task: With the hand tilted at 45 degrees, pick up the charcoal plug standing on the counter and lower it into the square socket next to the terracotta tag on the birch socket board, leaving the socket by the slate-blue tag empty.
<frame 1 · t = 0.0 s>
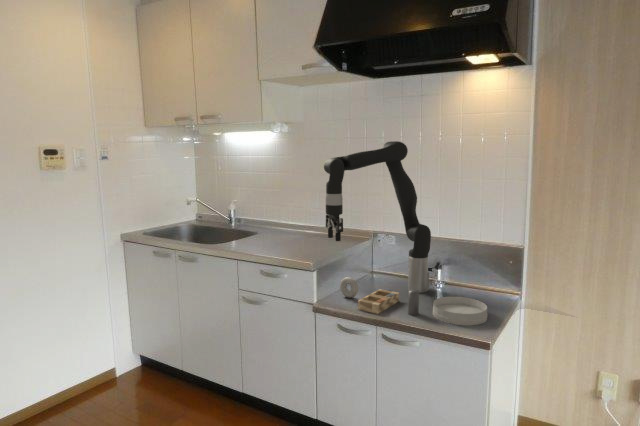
hand: (334, 239, 210), 29 cm above the worktop, tool pointing down, fingers open, 8 cm apart
plug: (413, 313, 199), on the worktop
dish: (459, 316, 197), on the worktop
donut: (349, 298, 221), on the worktop
socket board: (378, 305, 210), on the worktop
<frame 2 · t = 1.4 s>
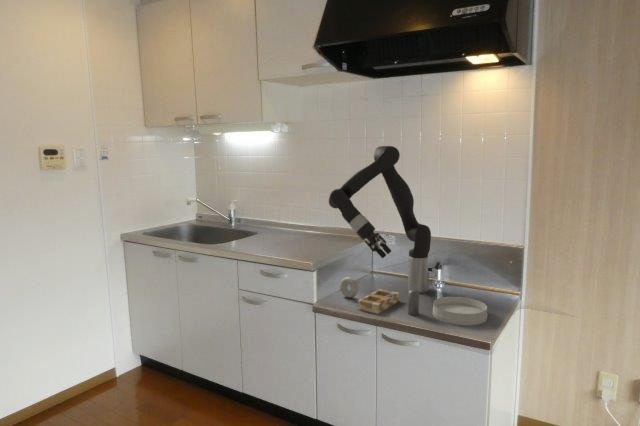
hand: (387, 254, 200), 25 cm above the worktop, tool tilted 45°, fingers open, 8 cm apart
nothing on the worktop moved.
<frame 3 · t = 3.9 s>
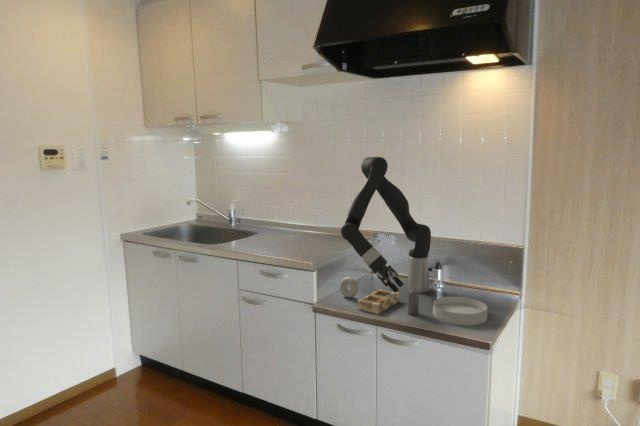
hand: (399, 288, 200), 10 cm above the worktop, tool tilted 45°, fingers open, 8 cm apart
nothing on the worktop moved.
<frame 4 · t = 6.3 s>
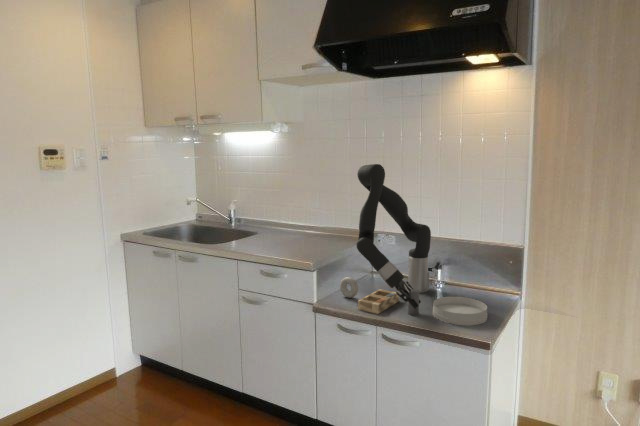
hand: (418, 304, 198), 4 cm above the worktop, tool tilted 45°, fingers closed on plug, 4 cm apart
plug: (413, 313, 199), on the worktop, touching gripper
everything else where it was.
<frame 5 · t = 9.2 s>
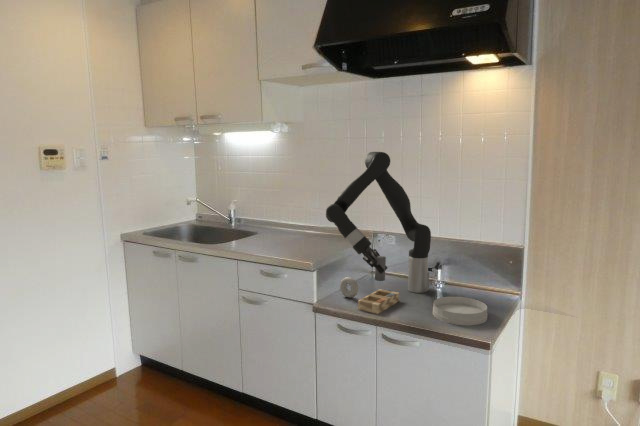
hand: (384, 270, 202), 17 cm above the worktop, tool tilted 45°, fingers closed on plug, 4 cm apart
plug: (379, 279, 203), point 13 cm above the worktop, touching gripper
everything else where it was.
when the fingers open (8 cm above the worktop, at t = 12.2 s): plug drops 3 cm, resting in socket board.
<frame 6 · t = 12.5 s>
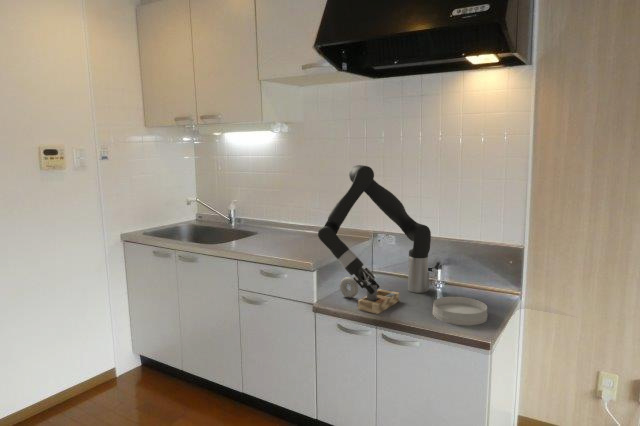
hand: (375, 290, 205), 8 cm above the worktop, tool tilted 45°, fingers open, 7 cm apart
plug: (371, 307, 207), resting in socket board
everything else where it was.
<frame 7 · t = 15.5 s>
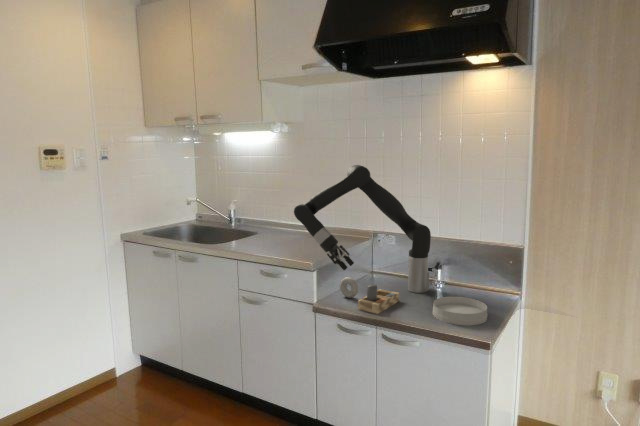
hand: (349, 266, 208), 17 cm above the worktop, tool tilted 45°, fingers open, 8 cm apart
nothing on the worktop moved.
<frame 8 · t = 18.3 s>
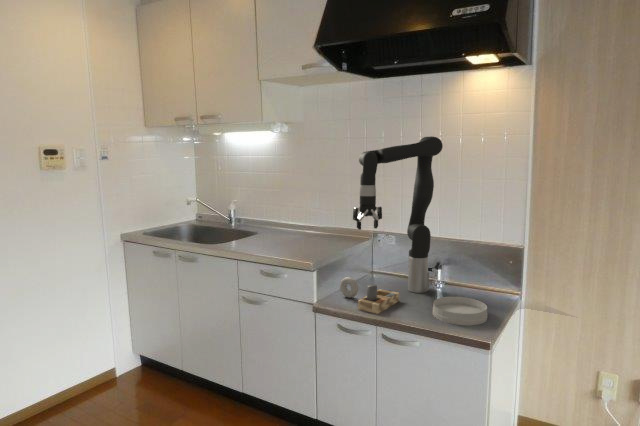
hand: (367, 228, 221), 32 cm above the worktop, tool pointing down, fingers open, 8 cm apart
nothing on the worktop moved.
at the end: plug 0.1 cm from the target spot, resting in socket board; plug tilted 0°; the gripper is holding nothing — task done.
